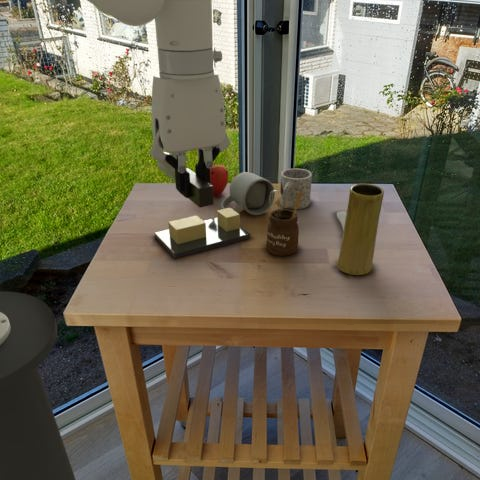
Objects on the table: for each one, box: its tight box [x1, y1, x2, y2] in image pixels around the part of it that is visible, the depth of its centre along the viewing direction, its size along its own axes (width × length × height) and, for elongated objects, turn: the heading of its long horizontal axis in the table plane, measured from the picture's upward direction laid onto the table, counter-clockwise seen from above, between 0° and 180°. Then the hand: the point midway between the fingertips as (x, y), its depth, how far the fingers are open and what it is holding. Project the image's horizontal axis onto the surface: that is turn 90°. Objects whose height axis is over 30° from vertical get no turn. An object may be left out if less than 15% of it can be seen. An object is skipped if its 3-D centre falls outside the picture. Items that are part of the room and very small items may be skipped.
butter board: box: [154, 217, 251, 259], centre depth 97 cm, size 16×10×1 cm, turn 119°
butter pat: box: [216, 207, 241, 232], centre depth 98 cm, size 3×4×3 cm
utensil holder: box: [266, 189, 303, 257], centre depth 90 cm, size 6×6×12 cm
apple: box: [210, 164, 229, 197], centre depth 112 cm, size 8×7×10 cm
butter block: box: [168, 215, 206, 244], centre depth 95 cm, size 6×4×3 cm, turn 119°
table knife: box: [156, 160, 215, 209], centre depth 81 cm, size 2×19×3 cm, turn 30°
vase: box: [336, 183, 385, 276], centre depth 83 cm, size 6×6×14 cm
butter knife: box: [336, 210, 347, 232], centre depth 96 cm, size 1×24×3 cm
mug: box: [279, 167, 313, 210], centre depth 108 cm, size 10×7×7 cm, turn 153°
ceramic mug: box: [220, 171, 276, 216], centre depth 106 cm, size 11×8×8 cm
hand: (193, 192), depth 78 cm, fingers closed on table knife, 2 cm apart
